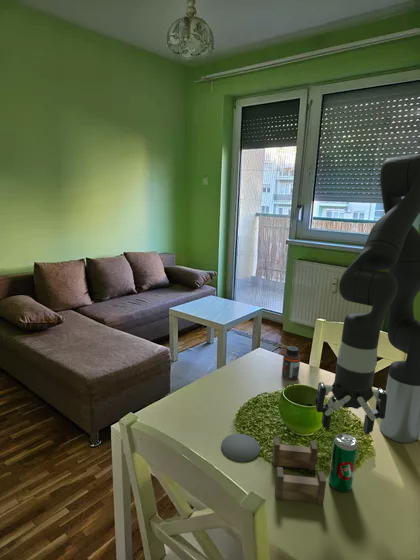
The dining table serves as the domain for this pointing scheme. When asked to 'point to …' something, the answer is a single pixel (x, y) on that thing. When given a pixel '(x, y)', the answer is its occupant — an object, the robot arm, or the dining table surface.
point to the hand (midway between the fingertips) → (345, 430)
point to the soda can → (343, 462)
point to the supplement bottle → (291, 363)
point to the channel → (297, 485)
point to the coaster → (240, 447)
